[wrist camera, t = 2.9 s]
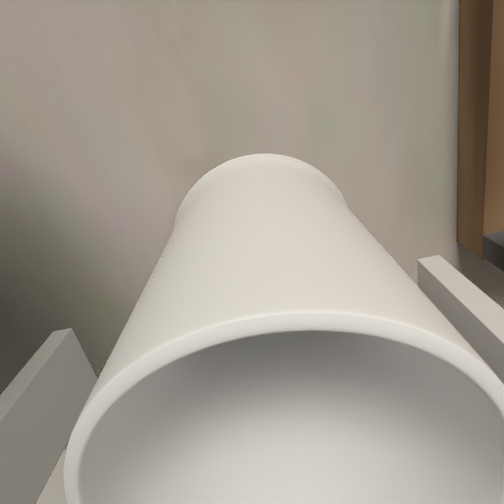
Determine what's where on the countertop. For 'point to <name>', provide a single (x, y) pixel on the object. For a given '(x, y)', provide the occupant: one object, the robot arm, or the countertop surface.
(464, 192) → the flat wooden box
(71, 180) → the countertop surface
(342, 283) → the mug
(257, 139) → the countertop surface
